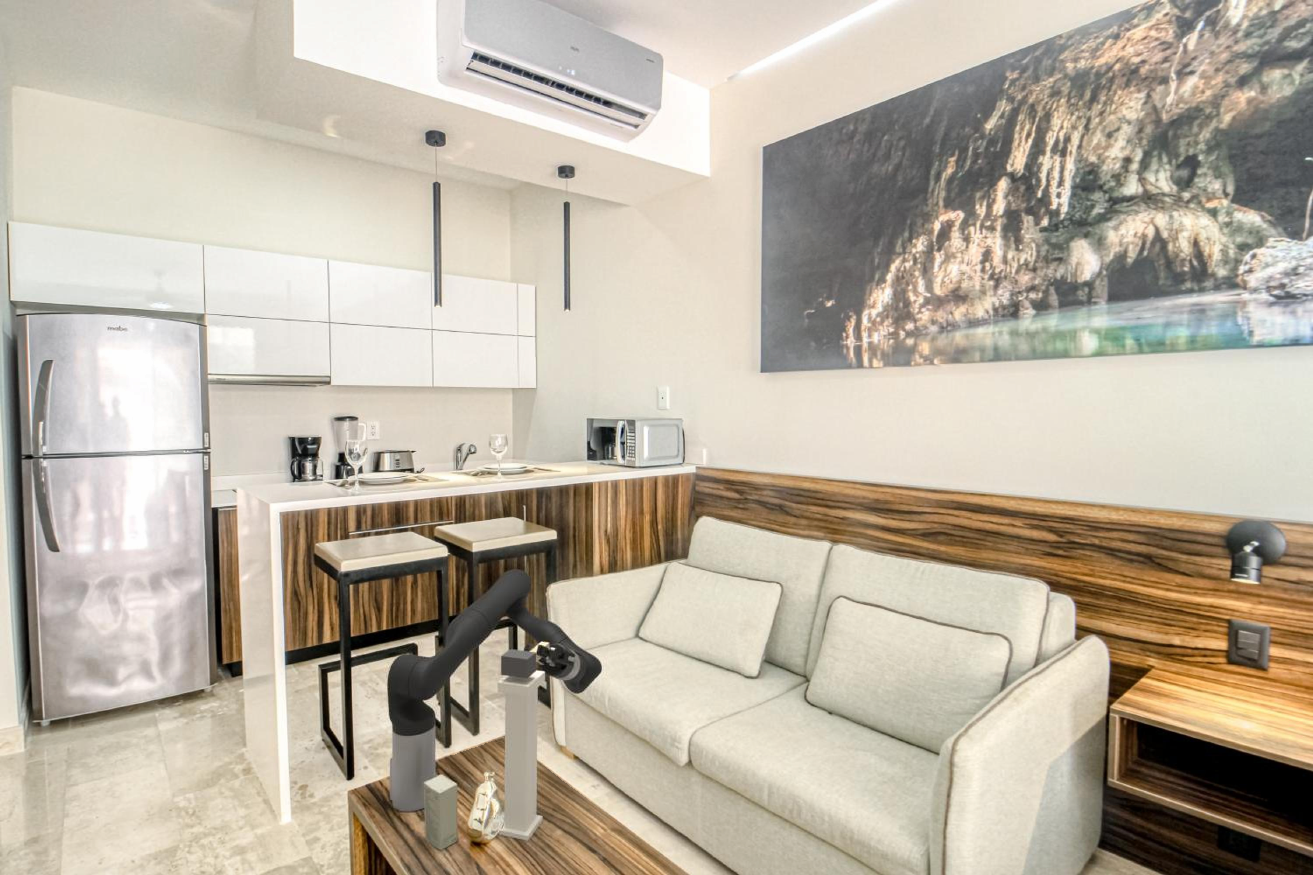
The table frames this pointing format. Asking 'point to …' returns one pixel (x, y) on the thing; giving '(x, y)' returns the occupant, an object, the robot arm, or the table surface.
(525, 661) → the rubber mallet
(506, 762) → the pale stand
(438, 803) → the skincare box
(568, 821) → the table surface
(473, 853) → the table surface
